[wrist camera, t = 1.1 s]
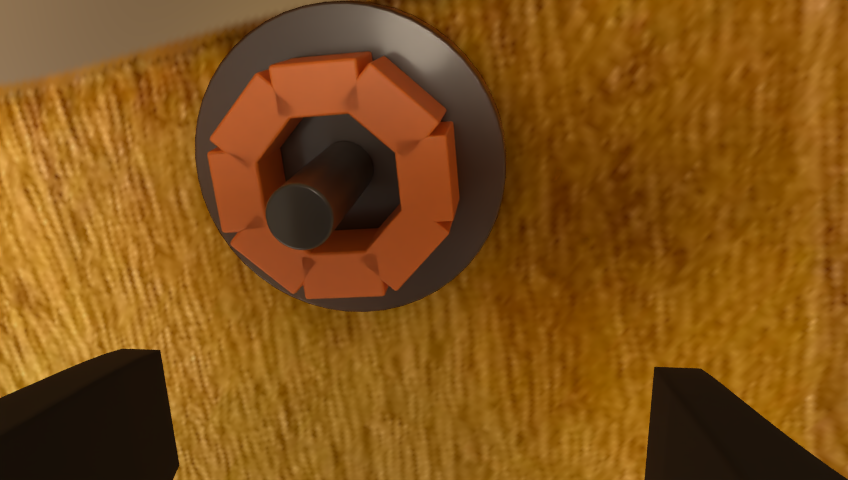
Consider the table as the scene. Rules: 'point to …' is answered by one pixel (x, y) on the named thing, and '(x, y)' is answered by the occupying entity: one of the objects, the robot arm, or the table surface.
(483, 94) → the stake
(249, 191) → the ring
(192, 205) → the table surface
